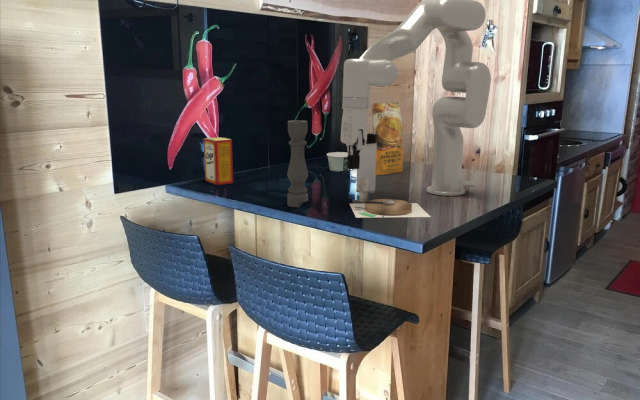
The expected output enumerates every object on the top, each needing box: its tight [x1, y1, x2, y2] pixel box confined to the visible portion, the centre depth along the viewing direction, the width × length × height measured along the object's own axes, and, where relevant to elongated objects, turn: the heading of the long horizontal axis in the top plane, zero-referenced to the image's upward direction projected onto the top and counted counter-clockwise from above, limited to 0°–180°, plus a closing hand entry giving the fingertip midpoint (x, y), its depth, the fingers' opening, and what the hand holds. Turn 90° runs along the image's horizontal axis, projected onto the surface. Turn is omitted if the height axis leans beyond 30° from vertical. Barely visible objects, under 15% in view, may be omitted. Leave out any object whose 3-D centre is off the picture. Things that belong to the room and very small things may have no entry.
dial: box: [352, 179, 412, 215], centre depth 150 cm, size 16×13×8 cm
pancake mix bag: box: [371, 102, 404, 176], centre depth 215 cm, size 7×19×28 cm, turn 130°
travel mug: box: [355, 132, 377, 194], centre depth 178 cm, size 6×7×20 cm
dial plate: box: [349, 202, 431, 219], centre depth 151 cm, size 20×16×2 cm
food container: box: [326, 151, 350, 172], centre depth 224 cm, size 12×12×6 cm
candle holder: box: [286, 119, 309, 208], centre depth 160 cm, size 6×6×25 cm
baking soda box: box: [203, 136, 234, 186], centre depth 195 cm, size 10×6×16 cm
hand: (353, 168), depth 156 cm, fingers closed
